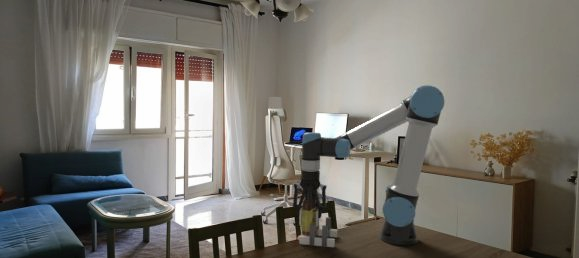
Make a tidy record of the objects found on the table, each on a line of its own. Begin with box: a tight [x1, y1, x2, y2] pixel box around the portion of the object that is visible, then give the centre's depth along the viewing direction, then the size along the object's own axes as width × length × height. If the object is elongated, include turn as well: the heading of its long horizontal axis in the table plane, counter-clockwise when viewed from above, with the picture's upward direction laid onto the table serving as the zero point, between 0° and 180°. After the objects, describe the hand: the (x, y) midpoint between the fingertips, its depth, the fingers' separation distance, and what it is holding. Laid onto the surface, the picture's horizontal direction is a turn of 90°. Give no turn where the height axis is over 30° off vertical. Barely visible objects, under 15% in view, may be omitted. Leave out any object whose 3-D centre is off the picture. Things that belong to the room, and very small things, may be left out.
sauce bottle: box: [300, 187, 318, 236], centre depth 164 cm, size 7×6×20 cm
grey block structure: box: [298, 216, 338, 248], centre depth 163 cm, size 14×13×8 cm
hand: (308, 224), depth 164 cm, fingers closed on sauce bottle, 6 cm apart
